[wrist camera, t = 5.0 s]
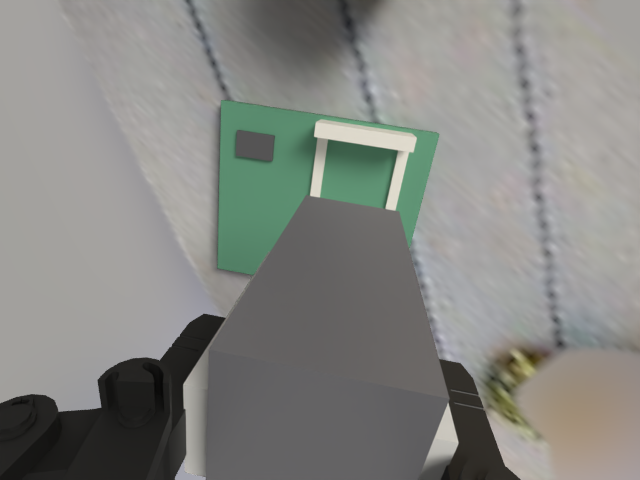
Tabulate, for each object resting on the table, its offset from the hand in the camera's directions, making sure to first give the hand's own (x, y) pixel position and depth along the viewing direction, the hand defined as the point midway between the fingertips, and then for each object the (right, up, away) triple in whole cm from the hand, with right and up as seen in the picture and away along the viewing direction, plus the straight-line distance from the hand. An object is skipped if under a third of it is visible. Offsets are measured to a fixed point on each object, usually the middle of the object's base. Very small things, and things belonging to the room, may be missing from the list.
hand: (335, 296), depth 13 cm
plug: (0, +1, +3) cm, 3 cm away
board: (-1, +5, +18) cm, 19 cm away
